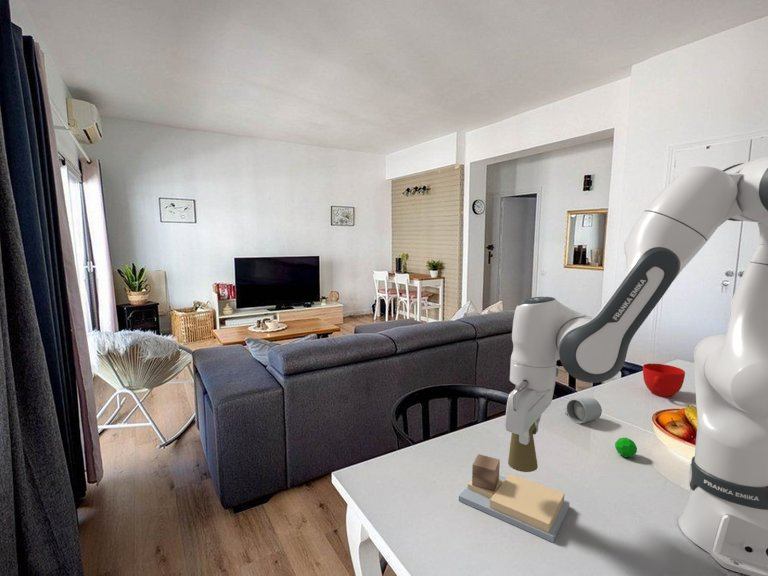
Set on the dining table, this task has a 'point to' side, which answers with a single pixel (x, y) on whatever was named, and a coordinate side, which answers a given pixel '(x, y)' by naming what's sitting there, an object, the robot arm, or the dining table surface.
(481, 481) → the walnut cube
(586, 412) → the ceramic mug
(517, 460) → the olive pawn
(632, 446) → the polyhedron
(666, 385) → the red bowl
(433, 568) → the dining table surface
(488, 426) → the dining table surface
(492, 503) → the base board
